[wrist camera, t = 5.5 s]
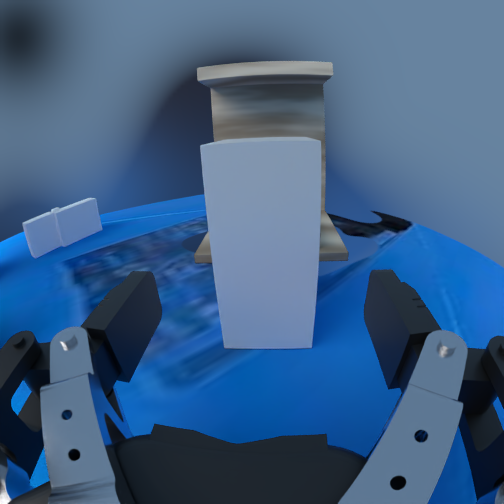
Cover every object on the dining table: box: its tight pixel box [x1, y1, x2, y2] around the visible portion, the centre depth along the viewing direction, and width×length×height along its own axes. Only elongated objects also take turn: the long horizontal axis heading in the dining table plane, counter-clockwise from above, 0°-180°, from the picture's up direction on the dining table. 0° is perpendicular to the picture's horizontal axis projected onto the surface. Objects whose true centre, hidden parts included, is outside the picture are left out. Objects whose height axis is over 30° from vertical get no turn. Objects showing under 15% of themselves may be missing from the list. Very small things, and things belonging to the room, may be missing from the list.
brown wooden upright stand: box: [194, 61, 348, 263], centre depth 28 cm, size 15×14×19 cm
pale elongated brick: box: [200, 137, 321, 349], centre depth 16 cm, size 6×5×11 cm
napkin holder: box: [22, 198, 102, 259], centre depth 33 cm, size 15×11×6 cm
